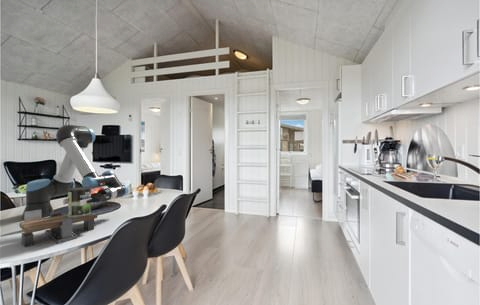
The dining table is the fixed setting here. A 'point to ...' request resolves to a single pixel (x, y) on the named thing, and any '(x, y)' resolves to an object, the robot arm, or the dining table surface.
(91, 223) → the pivot stand
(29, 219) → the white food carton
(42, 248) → the dining table surface
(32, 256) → the dining table surface
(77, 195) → the coffee can
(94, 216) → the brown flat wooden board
